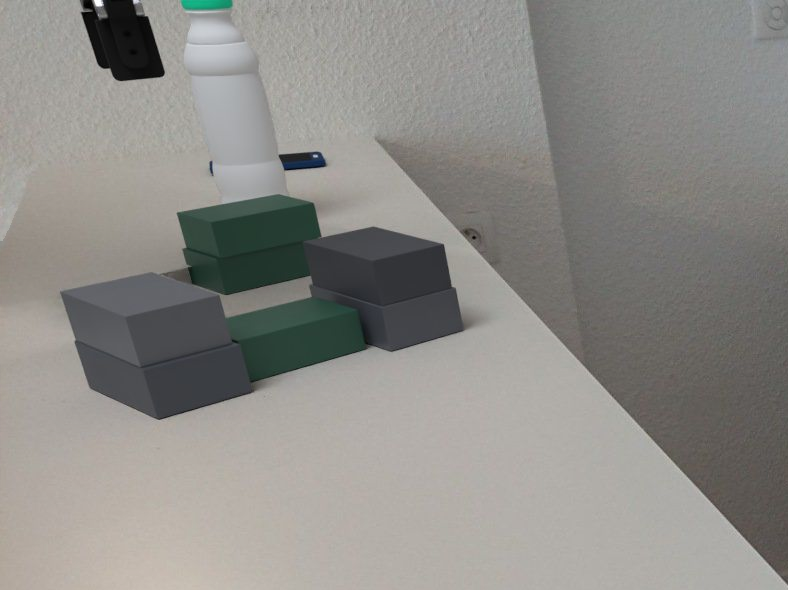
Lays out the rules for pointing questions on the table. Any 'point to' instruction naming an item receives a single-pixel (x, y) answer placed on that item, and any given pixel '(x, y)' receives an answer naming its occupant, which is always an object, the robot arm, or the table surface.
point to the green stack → (248, 242)
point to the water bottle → (231, 104)
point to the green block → (295, 335)
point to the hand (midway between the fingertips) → (131, 72)
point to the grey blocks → (210, 330)
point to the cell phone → (297, 160)
